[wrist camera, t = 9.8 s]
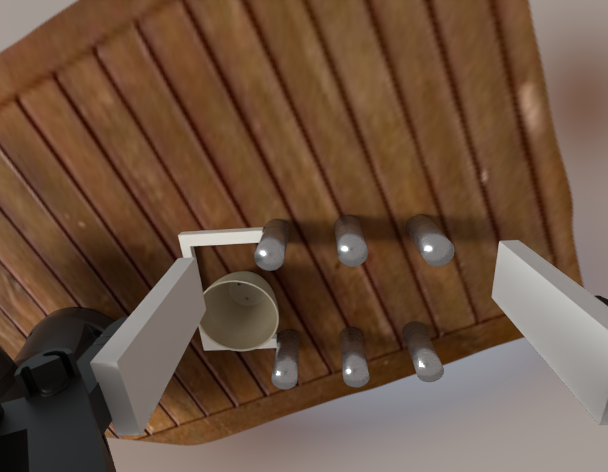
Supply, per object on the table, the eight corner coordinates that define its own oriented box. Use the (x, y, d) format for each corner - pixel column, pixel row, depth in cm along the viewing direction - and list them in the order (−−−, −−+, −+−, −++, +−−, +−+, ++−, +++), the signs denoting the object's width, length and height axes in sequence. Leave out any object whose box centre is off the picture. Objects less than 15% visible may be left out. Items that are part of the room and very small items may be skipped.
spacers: (279, 347, 53) (272, 389, 45) (263, 219, 45) (252, 244, 38) (424, 342, 51) (442, 384, 44) (432, 209, 44) (456, 233, 37)
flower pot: (298, 295, 49) (295, 327, 43) (243, 329, 52) (232, 363, 45) (253, 241, 47) (243, 265, 40) (197, 279, 49) (178, 308, 42)
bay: (206, 345, 53) (204, 350, 52) (181, 231, 46) (178, 235, 45) (278, 342, 52) (277, 347, 51) (263, 227, 46) (262, 230, 45)
